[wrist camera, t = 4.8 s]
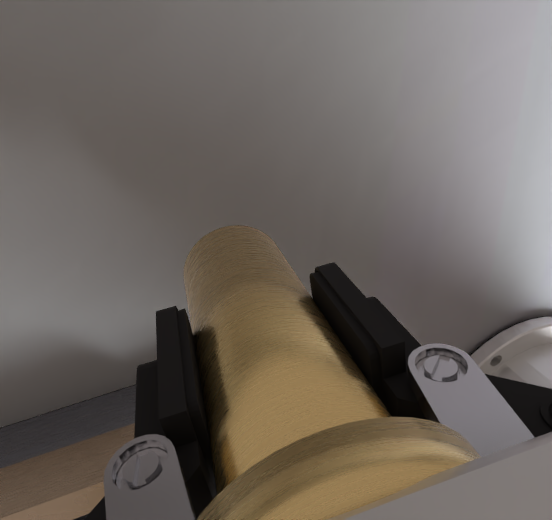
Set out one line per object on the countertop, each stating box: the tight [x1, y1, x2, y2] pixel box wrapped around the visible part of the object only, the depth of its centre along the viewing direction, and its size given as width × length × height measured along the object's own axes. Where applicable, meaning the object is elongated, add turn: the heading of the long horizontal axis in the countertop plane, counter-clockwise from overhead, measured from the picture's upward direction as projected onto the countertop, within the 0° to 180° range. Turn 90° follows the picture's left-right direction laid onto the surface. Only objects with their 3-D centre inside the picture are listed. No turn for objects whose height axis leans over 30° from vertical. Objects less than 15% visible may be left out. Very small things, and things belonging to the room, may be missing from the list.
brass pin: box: [184, 225, 481, 520], centre depth 11 cm, size 5×5×11 cm
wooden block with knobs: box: [0, 385, 136, 520], centre depth 21 cm, size 20×8×5 cm, turn 99°
